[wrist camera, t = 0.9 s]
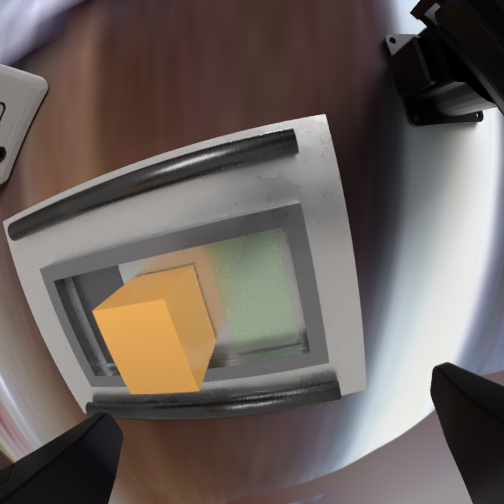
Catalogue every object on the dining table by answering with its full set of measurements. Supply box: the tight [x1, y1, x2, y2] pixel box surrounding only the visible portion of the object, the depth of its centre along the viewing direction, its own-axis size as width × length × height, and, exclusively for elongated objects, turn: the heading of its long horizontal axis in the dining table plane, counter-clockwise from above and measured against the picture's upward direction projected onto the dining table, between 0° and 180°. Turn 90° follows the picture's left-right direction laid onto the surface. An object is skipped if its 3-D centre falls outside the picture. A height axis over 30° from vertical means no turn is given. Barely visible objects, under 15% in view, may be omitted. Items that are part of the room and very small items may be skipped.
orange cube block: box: [92, 265, 216, 394], centre depth 16 cm, size 4×5×5 cm
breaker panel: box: [3, 114, 366, 420], centre depth 19 cm, size 24×18×4 cm
